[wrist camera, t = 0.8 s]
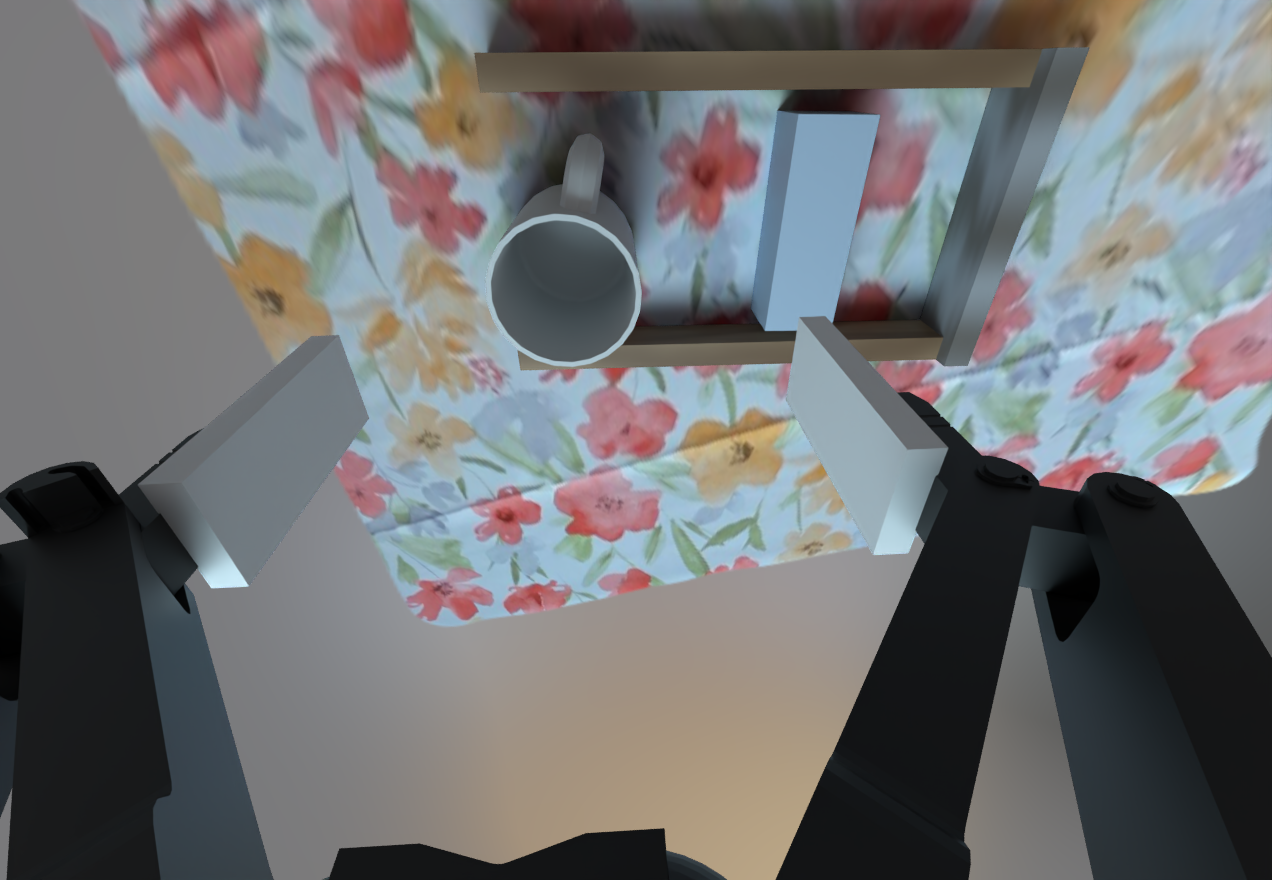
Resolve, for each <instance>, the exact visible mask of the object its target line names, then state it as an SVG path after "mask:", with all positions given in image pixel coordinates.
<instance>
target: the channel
mask: <svg viewBox="0 0 1272 880" xmlns="http://www.w3.org/2000/svg"><path fill="white" fill-rule="evenodd" d="M1088 51H1089V48H1048V49H962V50H819V51H675V52H532V53H475V60H476V67H477V74H478V81H479V88H480V92H585V91H692V90H798V89H905V88H992V89H991V92H990V96H989V99H988V102H987V105H986V108H985V112H984V115H983V118H982V121H981V125H980V128H979V131H978V134H977V137H976V141H975V144H974V147H973V150H972V154H971V157H970V160H969V163H968V166H967V170H966V173H965V176H964V179H963V183H962V186H961V189H960V192H959V195H958V199H957V202H956V205H955V208H954V212H953V215H952V218H951V221H950V224H949V228H948V231H947V234H946V237H945V240H944V244H943V247H942V250H941V253H940V257H939V260H938V263H937V266H936V269H935V273H934V276H933V279H932V282H931V286H930V289H929V292H928V295H927V298H926V302H925V305H924V308H923V311H922V315H921V318H920V320H884V321H842V322H833V323H832V324H833V325H834V326H835V327H836V328H837V329H838V330H839V331H840V332H841V333H842V334H843V336H844V337H845V338H846V339H847V340H848V341H849V342H850V343H851V344H852V345H853V346H854V347H855V348H856V349H857V351H858V352H859V353H860V354H861V355H862V356H863V357H864V358H865V359H866V360H867V361H893V360H931V359H936V360H937V361H938V362H940V363H941V364H942V365H943V366H968V363H969V361H970V358H971V355H972V353H973V350H974V348H975V345H976V342H977V340H978V337H979V335H980V332H981V329H982V327H983V324H984V322H985V319H986V316H987V314H988V311H989V309H990V306H991V303H992V301H993V298H994V296H995V293H996V290H997V288H998V285H999V283H1000V280H1001V277H1002V275H1003V272H1004V270H1005V267H1006V264H1007V262H1008V259H1009V256H1010V254H1011V251H1012V249H1013V246H1014V243H1015V241H1016V238H1017V236H1018V233H1019V230H1020V228H1021V225H1022V223H1023V220H1024V217H1025V215H1026V212H1027V210H1028V207H1029V204H1030V202H1031V199H1032V197H1033V194H1034V191H1035V189H1036V186H1037V184H1038V181H1039V178H1040V176H1041V173H1042V170H1043V168H1044V165H1045V163H1046V160H1047V157H1048V155H1049V152H1050V150H1051V147H1052V144H1053V142H1054V139H1055V137H1056V134H1057V131H1058V129H1059V126H1060V124H1061V121H1062V118H1063V116H1064V113H1065V111H1066V108H1067V105H1068V103H1069V100H1070V98H1071V95H1072V92H1073V90H1074V87H1075V85H1076V82H1077V79H1078V77H1079V74H1080V71H1081V69H1082V66H1083V64H1084V61H1085V58H1086V56H1087V53H1088ZM796 333H797V331H765V330H764V329H763V327H762V325H761V324H760V323H758V324H716V325H674V326H634V329H633V330H632V332H631V333H630V335H629V336H628V337H627V339H626V340H625V341H624V343H623V344H622V345H621V346H620V347H619V348H617V349H616V350H615V351H614V352H612V353H611V354H610V355H609V356H607V357H605V358H602V359H600V360H598V361H596V362H594V363H591V364H586V365H580V366H575V367H567V366H553V365H550V364H547V363H543V362H540V361H537V360H534V359H533V358H531V357H529V356H527V355H526V354H524V353H522V352H520V351H519V350H518V356H519V363H520V370H552V369H590V368H628V367H666V366H704V365H742V364H780V363H792V359H793V352H794V346H795V340H796Z"/></svg>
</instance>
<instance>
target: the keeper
mask: <svg viewBox="0 0 1272 880" xmlns="http://www.w3.org/2000/svg"><path fill="white" fill-rule="evenodd" d="M879 119H880V115H878V114H870V113H861V112H853V111H777V118H776V125H775V133H774V140H773V148H772V155H771V162H770V170H769V177H768V185H767V192H766V199H765V207H764V214H763V222H762V229H761V236H760V244H759V251H758V258H757V266H756V273H755V281H754V288H753V295H752V303H751V310H752V311H753V313H754V314H755V316H756V318H757V319H758V321H759V322H760V324H761V325H762V327H763V329H764V330H765V331H797V327H798V321H799V317H815V316H826V317H827V318H828V320H829V321H830V322H831V323H833V319H834V315H835V310H836V306H837V302H838V297H839V293H840V289H841V284H842V280H843V275H844V271H845V267H846V262H847V258H848V254H849V249H850V245H851V241H852V236H853V232H854V228H855V223H856V219H857V215H858V210H859V206H860V202H861V197H862V193H863V188H864V184H865V180H866V175H867V171H868V167H869V162H870V158H871V154H872V149H873V145H874V141H875V136H876V132H877V128H878V123H879Z"/></svg>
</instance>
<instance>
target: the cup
mask: <svg viewBox="0 0 1272 880" xmlns="http://www.w3.org/2000/svg"><path fill="white" fill-rule="evenodd" d="M603 165H604V151H603V146H602V142H601V141H600V140H599V139H598V138H596V137H595V136H594V135H592V134H591V133H588V134H583V135H579V136H577V138H576V139H575V141H574V143H573V145H572V146H571V148H570V150H569V153H568V157H567V162H566V167H565V173H564V179H563V184H560V185H555V186H551V187H549V188H547V189H545V190H543V191H541V192H540V193H538V194H536V195H535V196H534V197H533V198H532V199H531V200H530V201H529V202H528V203H527V204H526V205H525V206H524V207H523V208H522V209H521V211H520V212H519V214H518V215H517V217H516V218H515V220H514V221H513V223H512V224H511V226H510V227H509V228H508V230H507V231H506V233H505V234H504V236H503V237H502V239H501V240H500V242H499V243H498V245H497V247H496V249H495V251H494V253H493V255H492V256H491V258H490V260H489V264H488V269H487V273H486V278H485V288H486V301H487V304H488V307H489V310H490V313H491V316H492V319H493V321H494V322H495V324H496V325H497V327H498V328H499V330H500V331H501V333H502V334H503V336H504V337H505V338H506V339H507V340H508V341H509V342H510V343H511V344H512V345H513V346H514V347H515V348H516V349H518V350H519V351H520V352H522V353H524V354H526V355H527V356H529V357H531V358H533V359H534V360H537V361H540V362H543V363H547V364H550V365H553V366H567V367H575V366H580V365H586V364H591V363H594V362H596V361H598V360H600V359H602V358H605V357H607V356H609V355H610V354H611V353H612V352H614V351H615V350H616V349H617V348H619V347H620V346H621V345H622V344H623V343H624V341H625V340H626V339H627V337H628V336H629V335H630V333H631V332H632V330H633V329H634V326H635V323H636V321H637V318H638V316H639V313H640V306H641V296H642V290H641V284H640V278H639V271H638V265H637V259H636V253H635V247H634V241H633V235H632V231H631V228H630V226H629V224H628V222H627V220H626V217H625V215H624V214H623V212H622V211H621V210H620V209H619V207H618V206H617V205H616V203H615V202H614V201H613V200H612V199H610V198H609V197H608V196H606V195H605V194H603V193H602V192H601V191H600V185H601V179H602V172H603Z"/></svg>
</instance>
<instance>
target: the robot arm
mask: <svg viewBox="0 0 1272 880" xmlns="http://www.w3.org/2000/svg"><path fill="white" fill-rule="evenodd" d="M786 401H787V403H788V405H789V406H790V408H791V410H792V412H793V414H794V415H795V417H796V419H797V421H798V422H799V424H800V426H801V428H802V430H803V431H804V433H805V435H806V437H807V438H808V440H809V442H810V444H811V446H812V447H813V449H814V451H815V453H816V454H817V456H818V458H819V460H820V462H821V463H822V465H823V467H824V469H825V470H826V472H827V474H828V476H829V478H830V479H831V481H832V483H833V485H834V486H835V488H836V490H837V492H838V494H839V495H840V497H841V499H842V501H843V502H844V504H845V506H846V508H847V510H848V511H849V513H850V515H851V517H852V518H853V520H854V522H855V524H856V526H857V527H858V529H859V531H860V533H861V534H862V536H863V538H864V540H865V542H866V543H867V545H868V547H869V549H870V550H871V552H872V554H873V555H883V554H902V553H909V550H910V548H911V545H912V542H913V540H914V537H915V535H916V532H917V533H918V535H919V536H920V538H921V539H922V541H923V542H924V543H925V544H924V547H923V549H922V551H921V554H920V556H919V558H918V561H917V563H916V565H915V567H914V570H913V572H912V574H911V576H910V579H909V581H908V583H907V585H906V588H905V590H904V592H903V595H902V597H901V599H900V601H899V604H898V606H897V608H896V611H895V613H894V615H893V618H892V620H891V622H890V624H889V627H888V629H887V631H886V633H885V636H884V638H883V640H882V643H881V645H880V647H879V650H878V652H877V654H876V656H875V659H874V661H873V663H872V665H871V668H870V670H869V672H868V674H867V677H866V679H865V681H864V684H863V686H862V688H861V690H860V693H859V695H858V697H857V699H856V702H855V704H854V706H853V709H852V711H851V713H850V715H849V718H848V720H847V722H846V725H845V727H844V729H843V732H842V734H841V736H840V738H839V741H838V743H837V745H836V747H835V750H834V752H833V754H832V756H831V757H830V759H829V761H828V763H827V765H826V767H825V769H824V771H823V774H822V776H821V778H820V781H819V783H818V785H817V787H816V790H815V792H814V794H813V796H812V798H811V801H810V803H809V805H808V807H807V810H806V812H805V814H804V817H803V819H802V821H801V823H800V826H799V828H798V830H797V832H796V835H795V837H794V839H793V841H792V844H791V846H790V848H789V851H788V853H787V855H786V857H785V860H784V862H783V864H782V866H781V869H780V871H779V873H778V875H777V878H776V880H968V878H969V872H970V865H971V862H970V860H971V859H970V849H969V848H968V847H967V845H966V844H965V843H964V833H965V827H966V822H967V817H968V813H969V808H970V803H971V798H972V794H973V790H974V785H975V781H976V776H977V772H978V767H979V763H980V758H981V754H982V749H983V745H984V740H985V735H986V731H987V727H988V722H989V718H990V713H991V709H992V704H993V700H994V695H995V690H996V686H997V682H998V677H999V672H1000V668H1001V664H1002V659H1003V655H1004V650H1005V645H1006V641H1007V637H1008V632H1009V627H1010V623H1011V618H1012V614H1013V609H1014V605H1015V600H1016V596H1017V591H1018V587H1019V586H1021V587H1026V588H1031V590H1032V595H1033V599H1034V604H1035V609H1036V614H1037V618H1038V623H1039V627H1040V632H1041V637H1042V642H1043V646H1044V651H1045V655H1046V660H1047V665H1048V670H1049V674H1050V679H1051V683H1052V688H1053V692H1054V697H1055V702H1056V706H1057V711H1058V716H1059V721H1060V725H1061V730H1062V735H1063V739H1064V744H1065V748H1066V753H1067V758H1068V762H1069V767H1070V772H1071V776H1072V781H1073V786H1074V790H1075V794H1076V799H1077V804H1078V809H1079V813H1080V818H1081V822H1082V827H1083V832H1084V837H1085V841H1086V846H1087V851H1088V855H1089V860H1090V865H1091V869H1092V874H1093V878H1094V880H1272V657H1271V656H1270V654H1269V652H1268V651H1267V649H1266V647H1265V646H1264V644H1263V642H1262V641H1261V639H1260V637H1259V636H1258V634H1257V633H1256V631H1255V629H1254V627H1253V626H1252V624H1251V623H1250V621H1249V619H1248V618H1247V616H1246V614H1245V612H1244V611H1243V609H1242V608H1241V606H1240V604H1239V603H1238V601H1237V599H1236V598H1235V596H1234V594H1233V593H1232V591H1231V589H1230V588H1229V586H1228V584H1227V583H1226V581H1225V579H1224V578H1223V576H1222V574H1221V573H1220V571H1219V569H1218V568H1217V566H1216V564H1215V563H1214V561H1213V560H1212V558H1211V556H1210V554H1209V553H1208V551H1207V549H1206V548H1205V546H1204V545H1203V543H1202V541H1201V540H1200V538H1199V536H1198V535H1197V533H1196V531H1195V529H1194V528H1193V526H1192V524H1191V523H1190V521H1189V520H1188V518H1187V516H1186V515H1185V513H1184V511H1183V510H1182V508H1181V506H1180V505H1179V503H1178V502H1177V501H1176V500H1175V499H1174V498H1173V497H1172V496H1171V495H1170V494H1169V493H1167V492H1165V491H1164V490H1162V489H1161V488H1159V487H1158V486H1156V485H1155V484H1153V483H1151V482H1149V481H1144V479H1141V478H1138V477H1135V476H1128V475H1125V474H1120V473H1110V472H1103V473H1095V474H1093V475H1091V476H1090V477H1089V478H1087V480H1086V482H1085V483H1084V485H1083V487H1082V488H1081V490H1080V492H1078V491H1071V490H1064V489H1058V488H1051V487H1044V486H1040V485H1039V481H1038V480H1037V479H1036V477H1035V476H1034V475H1033V474H1032V473H1031V472H1030V471H1028V470H1026V469H1025V468H1023V467H1022V466H1020V465H1018V464H1016V463H1013V462H1011V461H1008V460H1006V459H1002V458H997V457H993V456H982V455H981V454H980V453H979V452H978V451H977V450H976V449H975V448H974V447H973V446H972V445H971V444H970V443H969V442H968V441H967V440H966V439H964V438H963V437H962V436H961V435H960V434H959V433H958V432H957V431H956V430H955V429H954V428H953V427H950V424H949V423H948V422H947V421H946V420H945V419H944V418H943V417H940V414H939V413H938V412H937V411H936V410H935V409H934V408H933V407H932V406H931V405H930V404H929V403H928V402H927V401H925V400H923V399H921V398H919V397H917V396H915V395H914V394H912V393H910V392H901V393H897V392H896V391H895V390H894V389H893V388H892V387H891V386H890V385H889V384H888V383H887V382H886V380H885V379H884V378H883V377H882V376H881V375H880V374H879V373H878V372H877V371H876V370H875V369H874V368H873V367H872V366H871V364H870V363H869V362H868V361H867V360H866V359H865V358H864V357H863V356H862V355H861V354H860V353H859V352H858V351H857V349H856V348H855V347H854V346H853V345H852V344H851V343H850V342H849V341H848V340H847V339H846V338H845V337H844V336H843V334H842V333H841V332H840V331H839V330H838V329H837V328H836V327H835V326H834V325H833V324H832V323H831V322H830V321H829V320H828V318H827V317H826V316H815V317H799V321H798V327H797V333H796V340H795V346H794V352H793V359H792V365H791V371H790V378H789V384H788V390H787V397H786ZM368 419H369V417H368V414H367V411H366V408H365V406H364V403H363V400H362V397H361V395H360V392H359V389H358V386H357V384H356V381H355V378H354V376H353V373H352V370H351V367H350V365H349V362H348V359H347V356H346V354H345V351H344V348H343V345H342V343H341V340H340V337H339V335H333V336H311V337H310V338H309V339H308V340H307V341H305V342H304V343H303V344H302V345H301V346H300V347H298V348H297V349H296V350H295V351H294V352H293V353H291V354H290V355H289V356H288V357H287V358H285V359H284V360H283V361H282V362H281V363H280V364H278V365H277V366H276V367H275V368H274V369H273V370H271V372H269V373H268V374H267V375H266V376H264V377H263V378H262V379H261V380H260V381H259V382H258V383H256V384H255V385H254V386H253V387H252V388H251V389H249V390H248V391H247V392H246V393H245V394H243V395H242V396H241V397H240V398H239V399H237V400H236V401H235V402H234V403H233V404H232V405H231V406H229V407H228V408H227V409H226V410H225V411H223V413H221V414H220V415H219V416H218V417H216V418H215V419H214V420H213V421H212V422H211V423H209V424H208V425H207V426H206V427H205V428H203V429H201V430H199V431H197V432H195V433H194V434H192V435H190V436H188V437H187V438H186V439H185V440H184V441H182V442H181V443H180V444H179V445H177V446H176V447H175V448H174V449H173V450H172V451H173V452H172V453H168V454H167V455H166V456H164V457H163V458H162V459H161V460H160V461H159V464H155V465H154V466H152V467H151V468H150V469H149V470H148V471H147V472H145V473H144V474H143V475H142V476H141V477H139V478H138V479H137V480H136V481H135V482H133V483H132V484H131V485H130V486H129V487H128V488H126V489H125V490H124V491H123V492H122V493H120V494H119V495H118V494H117V492H116V491H115V490H114V488H113V487H112V486H111V484H110V483H109V482H108V480H107V479H106V478H105V476H104V475H103V474H102V472H101V471H100V470H99V468H98V467H97V466H96V465H95V464H94V463H90V462H84V461H81V462H72V463H65V464H61V465H57V466H54V467H49V468H46V469H44V470H41V471H39V472H36V473H33V474H31V475H29V476H26V477H25V478H23V479H21V480H19V481H17V482H15V483H13V484H12V485H10V486H9V487H8V488H6V489H5V490H4V491H2V492H1V493H0V508H1V509H2V510H3V511H4V512H5V513H6V514H7V515H8V516H9V517H10V518H11V520H13V522H14V523H15V524H16V525H17V526H18V527H19V528H20V529H21V530H22V531H23V532H24V534H25V535H26V536H27V537H28V539H24V540H20V541H15V542H11V543H7V544H2V545H0V817H1V814H2V812H3V809H4V806H5V804H6V802H7V799H8V796H9V794H10V792H11V789H12V803H11V819H10V836H9V850H8V866H7V880H274V879H273V876H272V873H271V870H270V867H269V864H268V860H267V857H266V853H265V849H264V846H263V842H262V839H261V835H260V832H259V828H258V824H257V821H256V817H255V813H254V810H253V806H252V802H251V799H250V795H249V792H248V788H247V785H246V781H245V777H244V774H243V770H242V766H241V763H240V759H239V756H238V752H237V748H236V745H235V741H234V738H233V734H232V730H231V727H230V723H229V720H228V716H227V712H226V709H225V705H224V702H223V698H222V695H221V691H220V687H219V684H218V680H217V676H216V673H215V669H214V666H213V663H212V658H211V655H210V651H209V648H208V644H207V640H206V637H205V633H204V630H203V626H202V622H201V619H200V615H199V612H198V608H197V605H196V601H195V597H194V595H193V593H192V592H191V591H190V589H189V588H188V587H187V585H186V584H185V582H186V581H187V580H188V579H189V577H190V576H191V575H192V574H193V573H194V571H195V570H196V569H198V570H199V571H200V573H201V574H202V576H203V577H204V578H205V580H206V581H207V583H208V584H209V585H210V587H211V588H226V587H245V586H246V587H247V586H250V584H251V583H252V582H253V580H254V579H255V577H256V576H257V575H258V573H259V572H260V570H261V569H262V568H263V566H264V565H265V563H266V562H267V561H268V559H269V558H270V556H271V555H272V554H273V552H274V551H275V549H276V548H277V547H278V545H279V544H280V542H281V541H282V540H283V538H284V537H285V535H286V534H287V532H288V531H289V530H290V528H291V527H292V526H293V524H294V523H295V521H296V520H297V519H298V517H299V515H300V514H301V513H302V511H303V510H304V509H305V507H306V506H307V504H308V503H309V502H310V500H311V499H312V497H313V496H314V495H315V493H316V492H317V490H318V489H319V488H320V486H321V485H322V483H323V482H324V481H325V479H326V478H327V476H328V475H329V474H330V472H331V471H332V469H333V468H334V467H335V465H336V464H337V462H338V461H339V460H340V458H341V457H342V455H343V454H344V453H345V451H346V450H347V448H348V447H349V446H350V444H351V443H352V441H353V440H354V439H355V437H356V436H357V434H358V433H359V432H360V430H361V429H362V427H363V426H364V425H365V423H366V422H367V420H368ZM323 880H727V879H725V878H724V877H723V876H722V875H720V874H719V873H717V872H715V871H714V870H712V869H710V868H709V867H707V866H706V865H704V864H702V863H700V862H698V861H695V860H693V859H691V858H688V857H686V856H684V855H680V854H677V853H673V852H670V851H666V843H665V830H664V828H663V829H648V830H632V831H631V830H630V831H614V832H599V833H585V834H582V835H580V836H577V837H574V838H572V839H569V840H566V841H564V842H561V843H558V844H556V845H553V846H551V847H548V848H545V849H542V850H540V851H537V852H534V853H532V854H529V855H526V856H524V857H521V858H518V859H516V860H513V861H510V862H507V863H504V864H492V863H488V862H484V861H481V860H477V859H474V858H470V857H466V856H462V855H459V854H456V853H452V852H448V851H445V850H441V849H437V848H433V847H430V846H427V845H423V844H405V845H391V846H373V847H357V848H341V849H339V851H338V854H337V857H336V860H335V863H334V866H333V869H332V872H331V874H330V877H328V878H325V879H323Z"/></svg>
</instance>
